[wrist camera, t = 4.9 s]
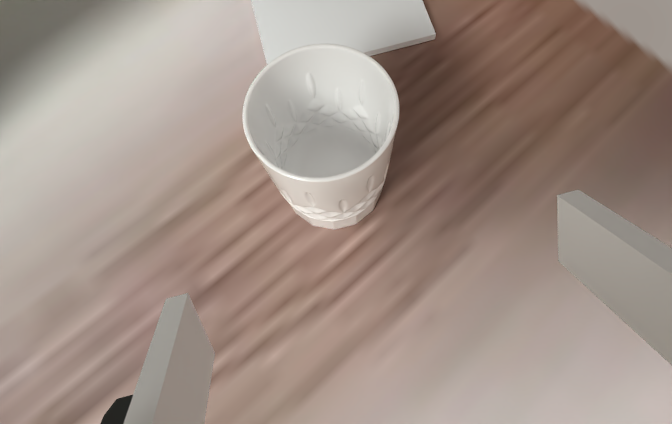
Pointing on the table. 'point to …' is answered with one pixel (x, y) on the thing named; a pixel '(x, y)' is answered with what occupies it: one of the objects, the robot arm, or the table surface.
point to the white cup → (324, 130)
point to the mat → (341, 24)
